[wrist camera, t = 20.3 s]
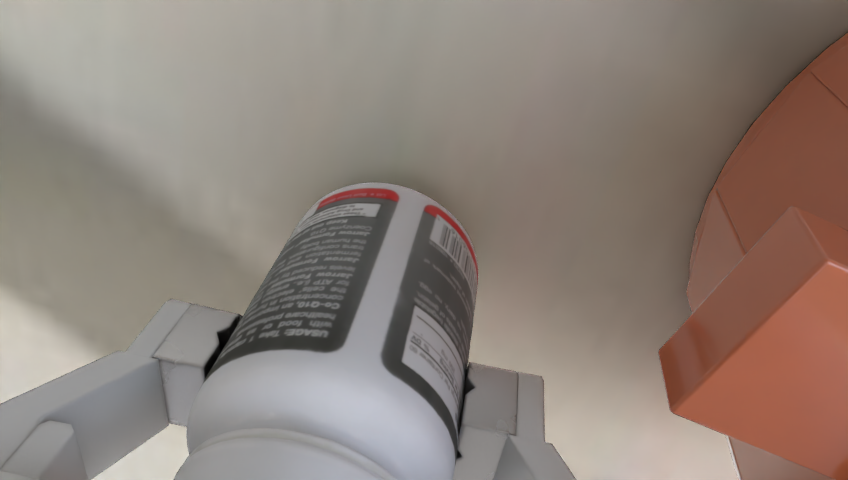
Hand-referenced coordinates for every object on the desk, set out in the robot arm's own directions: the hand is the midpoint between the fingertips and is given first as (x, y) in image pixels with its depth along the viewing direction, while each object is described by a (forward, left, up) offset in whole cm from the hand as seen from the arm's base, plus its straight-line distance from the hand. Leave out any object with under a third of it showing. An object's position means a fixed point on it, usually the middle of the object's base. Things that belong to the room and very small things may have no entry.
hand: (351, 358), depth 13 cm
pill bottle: (0, 0, -4) cm, 4 cm away
